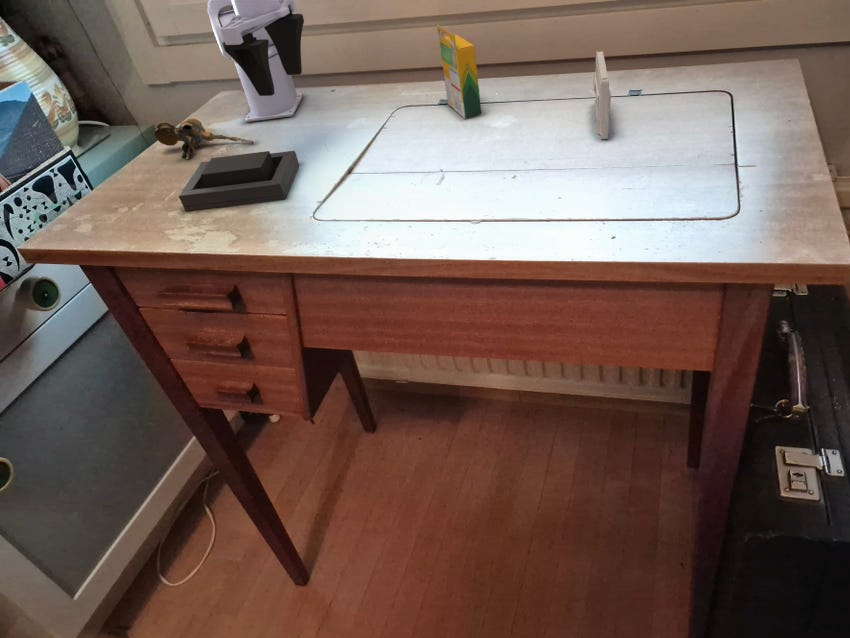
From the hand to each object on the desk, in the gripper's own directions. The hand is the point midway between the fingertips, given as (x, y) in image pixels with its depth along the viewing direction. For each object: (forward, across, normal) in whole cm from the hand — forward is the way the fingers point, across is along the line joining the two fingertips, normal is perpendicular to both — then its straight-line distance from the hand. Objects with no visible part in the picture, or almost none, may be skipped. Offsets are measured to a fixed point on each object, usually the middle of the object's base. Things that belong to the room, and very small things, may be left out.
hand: (281, 84), depth 90 cm
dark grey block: (+9, -12, +2) cm, 15 cm away
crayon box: (+10, +15, -21) cm, 27 cm away
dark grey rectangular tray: (+9, -12, +2) cm, 15 cm away
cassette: (+10, +10, -42) cm, 44 cm away
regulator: (+10, 0, +17) cm, 19 cm away
